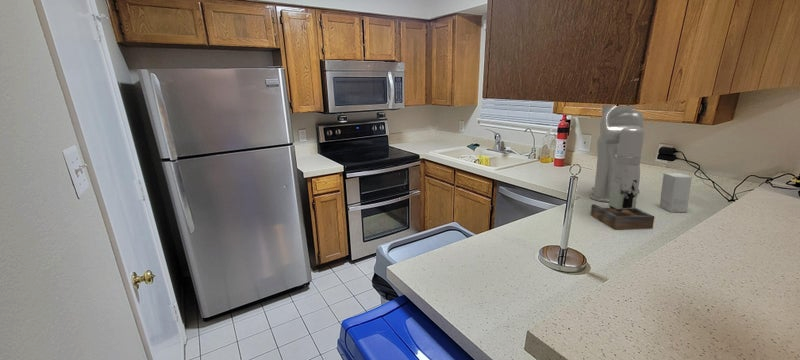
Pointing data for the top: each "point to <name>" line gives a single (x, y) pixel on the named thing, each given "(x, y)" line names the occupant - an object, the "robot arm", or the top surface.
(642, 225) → the brown wooden tray
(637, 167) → the robot arm
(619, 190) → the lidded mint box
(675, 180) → the skincare box
